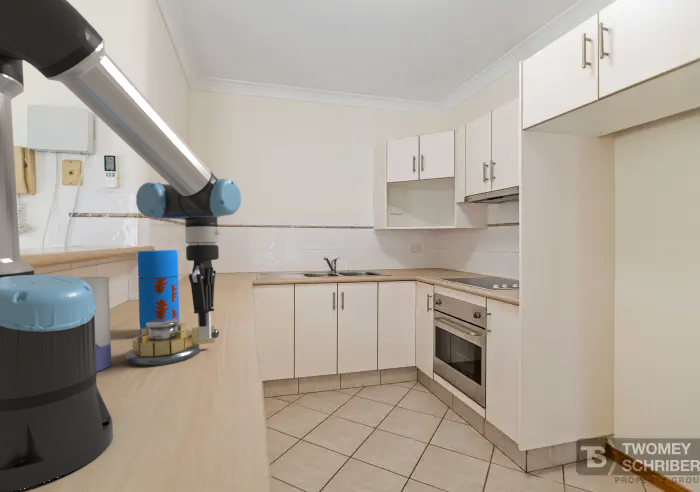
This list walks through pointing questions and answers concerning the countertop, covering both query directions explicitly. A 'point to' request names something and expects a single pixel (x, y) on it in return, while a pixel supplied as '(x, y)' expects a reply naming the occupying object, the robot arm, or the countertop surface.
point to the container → (101, 320)
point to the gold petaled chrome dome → (170, 342)
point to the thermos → (158, 285)
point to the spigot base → (160, 358)
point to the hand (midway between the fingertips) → (205, 338)
